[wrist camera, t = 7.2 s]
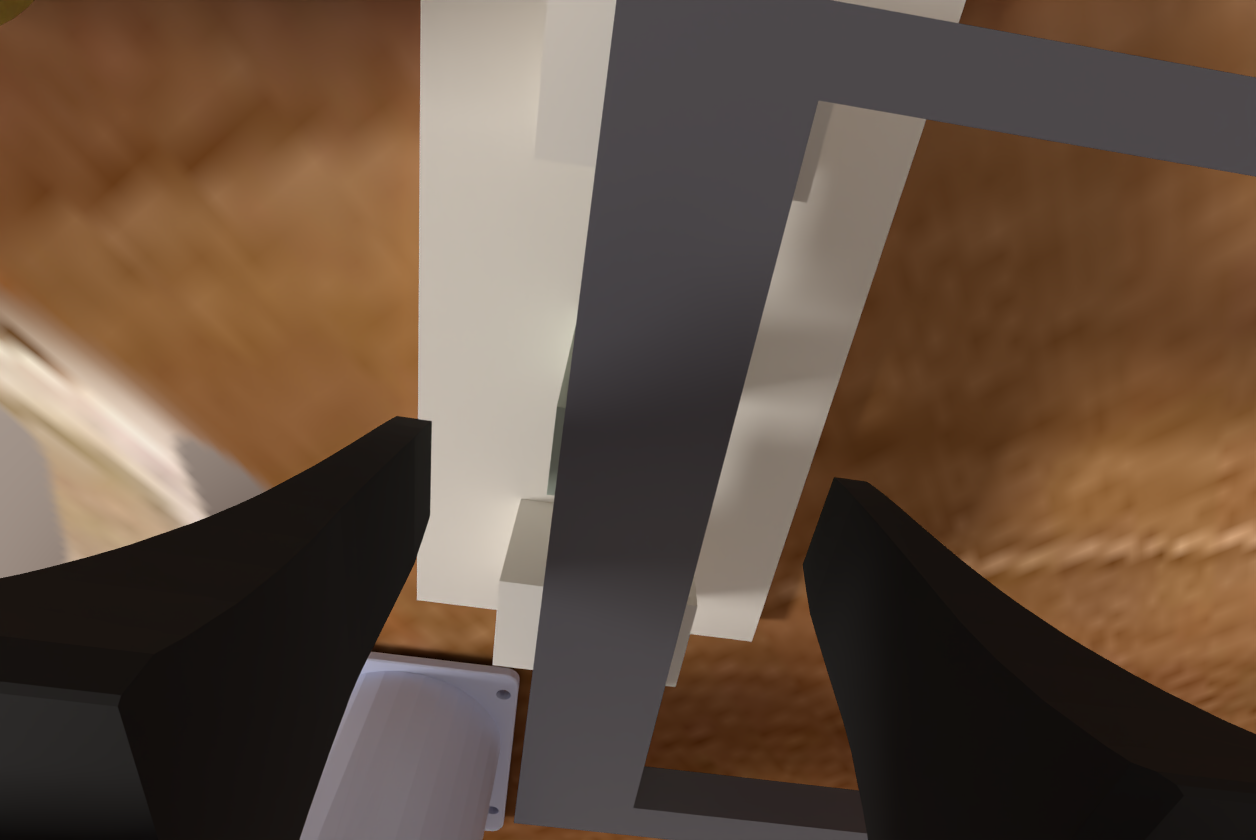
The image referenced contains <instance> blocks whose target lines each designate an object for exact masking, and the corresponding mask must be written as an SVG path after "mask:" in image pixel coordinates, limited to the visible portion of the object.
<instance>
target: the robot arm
mask: <svg viewBox="0 0 1256 840" xmlns="http://www.w3.org/2000/svg"><path fill="white" fill-rule="evenodd" d="M431 441H432V421H428V420H421V419H413V418H406V417H399V416H396V417H394V418H392V419H391V420H389V421H387V422H385V423H384V424H382V425H380V426H379V427H377V428H376V429H374V430H372V431H371V432H369V433H368V434H366V435H364V436H363V437H361V438H360V439H358V440H356V441H355V442H353V443H351V444H350V445H348V446H346V447H345V448H343V449H341V450H340V451H338V452H336V453H335V454H333V455H332V456H330V457H328V458H327V459H325V460H323V461H322V462H320V463H318V464H316V465H315V466H313V467H311V468H309V469H307V470H305V471H303V472H301V473H300V474H298V475H296V476H294V477H292V478H290V479H288V480H287V481H285V482H283V483H281V484H279V485H277V486H275V487H273V488H272V489H270V490H268V491H266V492H264V493H262V494H260V495H257V496H255V497H253V498H251V499H249V500H247V501H245V502H242V503H240V504H238V505H236V506H233V507H231V508H229V509H226V510H224V511H221V512H219V513H217V514H214V515H212V516H210V517H207V518H205V519H202V520H200V521H197V522H194V523H192V524H189V525H186V526H183V527H180V528H177V529H174V530H171V531H169V532H166V533H163V534H160V535H157V536H154V537H151V538H148V539H146V540H143V541H140V542H137V543H134V544H131V545H128V546H125V547H121V548H118V549H115V550H111V551H108V552H104V553H101V554H97V555H94V556H90V557H87V558H83V559H79V560H75V561H72V562H68V563H64V564H60V565H56V566H52V567H49V568H45V569H40V570H36V571H32V572H28V573H24V574H20V575H14V576H10V577H5V578H0V840H483V835H484V830H487V831H496V830H499V829H500V828H502V826H503V823H504V817H505V808H506V799H507V790H508V781H509V772H510V763H511V754H512V745H513V736H514V727H515V718H516V709H517V700H518V691H519V682H520V678H519V675H518V673H517V672H516V671H514V670H513V669H510V668H505V667H496V666H488V665H479V664H471V663H463V662H454V661H446V660H438V659H429V658H421V657H412V656H404V655H396V654H387V653H379V652H371V651H372V648H373V646H374V644H375V642H376V640H377V638H378V636H379V634H380V632H381V630H382V628H383V626H384V624H385V622H386V620H387V618H388V616H389V614H390V612H391V610H392V608H393V606H394V604H395V602H396V600H397V598H398V596H399V594H400V592H401V590H402V588H403V586H404V584H405V582H406V580H407V578H408V576H409V574H410V571H411V569H412V567H413V565H414V563H415V560H416V557H417V554H418V551H419V548H420V545H421V543H422V540H423V536H424V533H425V530H426V527H427V524H428V521H429V518H430V498H431ZM803 570H804V577H805V584H806V592H807V598H808V603H809V609H810V615H811V618H812V622H813V625H814V628H815V632H816V635H817V638H818V642H819V645H820V648H821V652H822V655H823V658H824V661H825V665H826V668H827V671H828V674H829V677H830V681H831V684H832V687H833V690H834V693H835V697H836V700H837V703H838V706H839V710H840V713H841V716H842V719H843V722H844V726H845V729H846V733H847V737H848V741H849V745H850V748H851V752H852V757H853V762H854V767H855V772H856V777H857V783H858V788H859V793H860V798H861V803H862V808H863V814H864V820H865V826H866V831H867V837H868V840H1256V734H1254V733H1252V732H1249V731H1247V730H1245V729H1243V728H1240V727H1238V726H1236V725H1233V724H1231V723H1229V722H1227V721H1224V720H1222V719H1220V718H1218V717H1216V716H1214V715H1212V714H1210V713H1208V712H1206V711H1204V710H1202V709H1200V708H1198V707H1196V706H1194V705H1192V704H1190V703H1187V702H1185V701H1183V700H1181V699H1179V698H1177V697H1175V696H1173V695H1171V694H1169V693H1167V692H1165V691H1163V690H1161V689H1160V688H1158V687H1156V686H1154V685H1152V684H1150V683H1148V682H1146V681H1144V680H1143V679H1141V678H1139V677H1137V676H1135V675H1133V674H1131V673H1130V672H1128V671H1126V670H1124V669H1123V668H1121V667H1119V666H1117V665H1116V664H1114V663H1112V662H1110V661H1109V660H1107V659H1105V658H1103V657H1102V656H1100V655H1098V654H1096V653H1095V652H1093V651H1091V650H1089V649H1088V648H1086V647H1084V646H1083V645H1081V644H1079V643H1078V642H1076V641H1075V640H1073V639H1071V638H1070V637H1068V636H1066V635H1065V634H1063V633H1062V632H1060V631H1059V630H1057V629H1056V628H1054V627H1053V626H1051V625H1050V624H1048V623H1047V622H1045V621H1044V620H1042V619H1041V618H1039V617H1038V616H1036V615H1035V614H1033V613H1032V612H1030V611H1029V610H1027V609H1026V608H1024V607H1023V606H1021V605H1020V604H1018V603H1017V602H1016V601H1014V600H1013V599H1011V598H1010V597H1009V596H1007V595H1006V594H1005V593H1003V592H1002V591H1001V590H999V589H998V588H997V587H995V586H994V585H993V584H991V583H990V582H989V581H987V580H986V579H985V578H984V577H982V576H981V575H980V574H978V573H977V572H976V571H974V570H973V569H972V568H971V567H969V566H968V565H967V564H966V563H964V562H963V561H962V560H961V559H960V558H958V557H957V556H956V555H955V554H953V553H952V552H951V551H950V550H949V549H947V548H946V547H945V546H944V545H943V544H941V543H940V542H939V541H938V540H937V539H936V538H934V537H933V536H932V535H931V534H930V533H929V532H927V531H926V530H925V529H924V528H923V527H922V526H920V525H919V524H918V523H917V522H916V521H915V520H913V519H912V518H911V517H910V516H909V515H908V514H907V513H905V512H904V511H903V510H902V509H901V508H900V507H898V506H897V505H896V504H895V503H894V502H892V501H891V500H890V499H889V498H888V497H886V496H885V495H884V494H883V493H881V492H880V491H879V490H878V489H876V488H875V487H874V486H872V485H871V484H869V483H868V482H864V481H857V480H850V479H843V478H836V477H834V479H833V482H832V484H831V487H830V490H829V493H828V496H827V498H826V501H825V504H824V507H823V510H822V512H821V515H820V518H819V521H818V524H817V526H816V529H815V532H814V535H813V538H812V540H811V543H810V546H809V549H808V552H807V554H806V557H805V560H804V563H803ZM504 690H506V691H504Z"/></svg>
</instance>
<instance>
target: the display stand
mask: <svg viewBox="0 0 1256 840" xmlns="http://www.w3.org/2000/svg"><path fill="white" fill-rule="evenodd" d="M834 1H840V2H845V3H850V4H856V5H861V6H867V7H872V8H878V9H883V10H889V11H894V12H900V13H905V14H911V15H916V16H922V17H927V18H932V19H938V20H943V21H949V22H954V23H959V20H960V17H961V14H962V11H963V8H964V5H965V2H966V0H834ZM615 7H616V0H421V41H420V199H419V357H418V419H421V420H428V421H432V441H431V498H430V518H429V521H428V524H427V527H426V530H425V533H424V536H423V540H422V543H421V545H420V548H419V551H418V554H417V600H422V601H430V602H438V603H446V604H454V605H462V606H470V607H478V608H486V609H494V610H497V615H496V627H495V639H494V652H493V664H492V665H495V666H504V667H512V668H520V669H529V670H533V665H534V657H535V649H536V641H537V633H538V625H539V617H540V609H541V601H542V593H543V585H544V577H545V569H546V561H547V553H548V545H549V537H550V529H551V521H552V513H553V505H554V497H555V489H556V481H557V473H558V465H559V457H560V449H561V441H562V433H563V425H564V417H565V409H566V401H567V393H568V385H569V377H570V369H571V360H572V352H573V344H574V336H575V328H576V320H577V312H578V304H579V296H580V288H581V280H582V272H583V264H584V256H585V248H586V240H587V232H588V224H589V216H590V208H591V200H592V192H593V184H594V176H595V168H596V160H597V152H598V144H599V136H600V128H601V120H602V112H603V104H604V96H605V88H606V80H607V72H608V64H609V56H610V48H611V40H612V32H613V23H614V15H615ZM925 122H926V119H922V118H916V117H911V116H905V115H899V114H893V113H888V112H882V111H876V110H870V109H865V108H859V107H853V106H847V105H842V104H836V103H830V102H824V101H818V104H817V108H816V112H815V116H814V120H813V124H812V127H811V131H810V135H809V139H808V143H807V146H806V150H805V154H804V158H803V162H802V165H801V169H800V173H799V177H798V181H797V185H796V188H795V192H794V196H793V200H792V204H791V207H790V211H789V215H788V219H787V223H786V227H785V230H784V234H783V238H782V242H781V246H780V249H779V253H778V257H777V261H776V265H775V269H774V272H773V276H772V280H771V284H770V288H769V291H768V295H767V299H766V303H765V307H764V311H763V314H762V318H761V322H760V326H759V330H758V333H757V337H756V341H755V345H754V349H753V353H752V356H751V360H750V364H749V368H748V372H747V375H746V379H745V383H744V387H743V391H742V395H741V398H740V402H739V406H738V410H737V414H736V417H735V421H734V425H733V429H732V433H731V437H730V440H729V444H728V448H727V452H726V456H725V459H724V463H723V467H722V471H721V475H720V479H719V482H718V486H717V490H716V494H715V498H714V501H713V505H712V509H711V513H710V517H709V521H708V524H707V528H706V532H705V536H704V540H703V543H702V547H701V551H700V555H699V559H698V563H697V566H696V570H695V574H694V578H693V582H692V585H691V589H690V593H689V597H688V601H687V605H686V608H685V612H684V616H683V620H682V624H681V627H680V631H679V635H678V639H677V643H676V647H675V650H674V654H673V658H672V662H671V666H670V669H669V673H668V677H667V681H666V685H665V686H671V687H676V684H677V680H678V676H679V673H680V669H681V665H682V662H683V658H684V654H685V651H686V647H687V643H688V640H689V636H690V634H695V635H703V636H711V637H719V638H727V639H735V640H743V641H751V642H752V639H753V636H754V633H755V630H756V627H757V624H758V621H759V619H760V616H761V613H762V610H763V607H764V604H765V601H766V598H767V595H768V592H769V589H770V586H771V583H772V580H773V577H774V574H775V571H776V568H777V565H778V562H779V559H780V556H781V553H782V550H783V547H784V544H785V541H786V538H787V535H788V532H789V529H790V526H791V523H792V520H793V517H794V514H795V511H796V508H797V505H798V502H799V499H800V496H801V493H802V490H803V487H804V484H805V481H806V478H807V475H808V472H809V469H810V466H811V463H812V460H813V457H814V454H815V451H816V448H817V445H818V442H819V439H820V436H821V433H822V430H823V427H824V424H825V421H826V418H827V415H828V412H829V409H830V406H831V403H832V400H833V397H834V394H835V391H836V388H837V385H838V382H839V379H840V376H841V373H842V370H843V367H844V364H845V361H846V358H847V355H848V352H849V349H850V346H851V343H852V340H853V337H854V334H855V331H856V328H857V325H858V322H859V319H860V316H861V313H862V310H863V307H864V304H865V301H866V298H867V295H868V292H869V289H870V286H871V283H872V280H873V277H874V274H875V271H876V268H877V265H878V262H879V259H880V256H881V253H882V250H883V247H884V244H885V241H886V238H887V235H888V232H889V229H890V226H891V223H892V220H893V217H894V214H895V211H896V208H897V205H898V203H899V200H900V197H901V194H902V191H903V188H904V185H905V182H906V179H907V176H908V173H909V170H910V167H911V164H912V161H913V158H914V155H915V152H916V149H917V146H918V143H919V140H920V137H921V134H922V131H923V128H924V125H925Z"/></svg>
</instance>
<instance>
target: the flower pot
mask: <svg viewBox="0 0 1256 840" xmlns="http://www.w3.org/2000/svg"><path fill="white" fill-rule="evenodd" d="M33 1H34V0H0V25H2V24H4V23H6V22H8V21H10V20H11V19H13V18H15V17H16V16H17V15H19V14H20V13H21V12H22V11H24V10H25V9H26V8H27V7H28V6H29V5H30V4H31V3H32V2H33Z"/></svg>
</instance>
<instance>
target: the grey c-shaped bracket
mask: <svg viewBox="0 0 1256 840" xmlns="http://www.w3.org/2000/svg"><path fill="white" fill-rule="evenodd" d="M818 101H824V102H830V103H836V104H842V105H847V106H853V107H859V108H865V109H870V110H876V111H882V112H888V113H893V114H899V115H905V116H911V117H916V118H922V119H928V120H934V121H939V122H945V123H951V124H957V125H962V126H968V127H974V128H980V129H985V130H991V131H997V132H1003V133H1009V134H1014V135H1020V136H1026V137H1032V138H1037V139H1043V140H1049V141H1055V142H1060V143H1066V144H1072V145H1078V146H1083V147H1089V148H1095V149H1101V150H1106V151H1112V152H1118V153H1124V154H1129V155H1135V156H1141V157H1147V158H1152V159H1158V160H1164V161H1170V162H1175V163H1181V164H1187V165H1193V166H1198V167H1204V168H1210V169H1216V170H1221V171H1227V172H1233V173H1239V174H1244V175H1250V176H1256V78H1255V77H1250V76H1244V75H1239V74H1233V73H1228V72H1222V71H1217V70H1211V69H1206V68H1200V67H1195V66H1189V65H1184V64H1179V63H1173V62H1168V61H1162V60H1157V59H1151V58H1146V57H1140V56H1135V55H1129V54H1124V53H1118V52H1113V51H1107V50H1102V49H1096V48H1091V47H1086V46H1080V45H1075V44H1069V43H1064V42H1058V41H1053V40H1047V39H1042V38H1036V37H1031V36H1025V35H1020V34H1014V33H1009V32H1004V31H998V30H993V29H987V28H982V27H976V26H971V25H965V24H960V23H954V22H949V21H943V20H938V19H932V18H927V17H922V16H916V15H911V14H905V13H900V12H894V11H889V10H883V9H878V8H872V7H867V6H861V5H856V4H850V3H845V2H840V1H834V0H616V7H615V15H614V23H613V32H612V40H611V48H610V56H609V64H608V72H607V80H606V88H605V96H604V104H603V112H602V120H601V128H600V136H599V144H598V152H597V160H596V168H595V176H594V184H593V192H592V200H591V208H590V216H589V224H588V232H587V240H586V248H585V256H584V264H583V272H582V280H581V288H580V296H579V304H578V312H577V320H576V328H575V336H574V344H573V352H572V360H571V369H570V377H569V385H568V393H567V401H566V409H565V417H564V425H563V433H562V441H561V449H560V457H559V465H558V473H557V481H556V489H555V497H554V505H553V513H552V521H551V529H550V537H549V545H548V553H547V561H546V569H545V577H544V585H543V593H542V601H541V609H540V617H539V625H538V633H537V641H536V649H535V657H534V665H533V673H532V681H531V689H530V697H529V705H528V714H527V722H526V730H525V738H524V746H523V754H522V762H521V770H520V778H519V786H518V794H517V802H516V810H515V818H514V823H520V824H529V825H538V826H548V827H557V828H567V829H576V830H585V831H595V832H604V833H613V834H623V835H632V836H642V837H651V838H660V839H670V840H868V837H867V831H866V826H865V820H864V814H863V808H862V803H861V798H860V793H859V791H858V790H849V789H840V788H831V787H822V786H813V785H805V784H796V783H787V782H778V781H769V780H760V779H751V778H742V777H734V776H725V775H716V774H707V773H698V772H689V771H680V770H672V769H663V768H654V767H645V766H644V765H645V761H646V757H647V753H648V750H649V746H650V742H651V738H652V734H653V731H654V727H655V723H656V719H657V715H658V711H659V708H660V704H661V700H662V696H663V692H664V689H665V685H666V681H667V677H668V673H669V669H670V666H671V662H672V658H673V654H674V650H675V647H676V643H677V639H678V635H679V631H680V627H681V624H682V620H683V616H684V612H685V608H686V605H687V601H688V597H689V593H690V589H691V585H692V582H693V578H694V574H695V570H696V566H697V563H698V559H699V555H700V551H701V547H702V543H703V540H704V536H705V532H706V528H707V524H708V521H709V517H710V513H711V509H712V505H713V501H714V498H715V494H716V490H717V486H718V482H719V479H720V475H721V471H722V467H723V463H724V459H725V456H726V452H727V448H728V444H729V440H730V437H731V433H732V429H733V425H734V421H735V417H736V414H737V410H738V406H739V402H740V398H741V395H742V391H743V387H744V383H745V379H746V375H747V372H748V368H749V364H750V360H751V356H752V353H753V349H754V345H755V341H756V337H757V333H758V330H759V326H760V322H761V318H762V314H763V311H764V307H765V303H766V299H767V295H768V291H769V288H770V284H771V280H772V276H773V272H774V269H775V265H776V261H777V257H778V253H779V249H780V246H781V242H782V238H783V234H784V230H785V227H786V223H787V219H788V215H789V211H790V207H791V204H792V200H793V196H794V192H795V188H796V185H797V181H798V177H799V173H800V169H801V165H802V162H803V158H804V154H805V150H806V146H807V143H808V139H809V135H810V131H811V127H812V124H813V120H814V116H815V112H816V108H817V104H818Z"/></svg>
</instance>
